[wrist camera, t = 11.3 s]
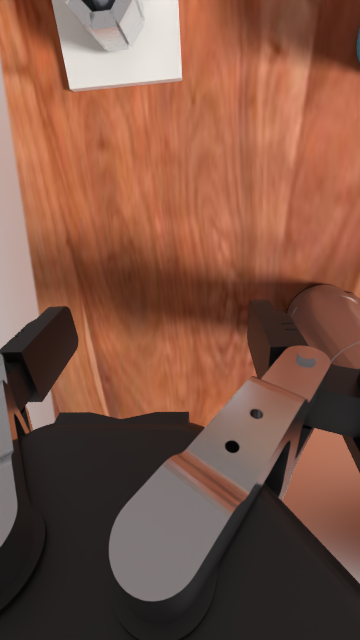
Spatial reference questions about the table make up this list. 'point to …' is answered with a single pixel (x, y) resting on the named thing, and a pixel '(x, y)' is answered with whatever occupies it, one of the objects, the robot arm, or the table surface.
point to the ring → (111, 22)
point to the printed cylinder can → (358, 46)
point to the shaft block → (124, 65)
